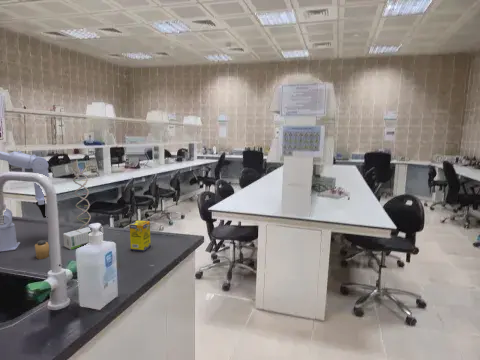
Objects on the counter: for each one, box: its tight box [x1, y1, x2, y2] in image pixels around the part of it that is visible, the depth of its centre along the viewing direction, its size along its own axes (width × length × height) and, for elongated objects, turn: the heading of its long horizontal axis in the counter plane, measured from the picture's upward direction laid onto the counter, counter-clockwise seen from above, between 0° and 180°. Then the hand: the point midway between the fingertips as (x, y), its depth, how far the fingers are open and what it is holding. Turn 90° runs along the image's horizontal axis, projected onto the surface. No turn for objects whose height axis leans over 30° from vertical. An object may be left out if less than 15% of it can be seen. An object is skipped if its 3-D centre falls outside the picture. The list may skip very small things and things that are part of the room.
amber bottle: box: [34, 239, 50, 260], centre depth 118 cm, size 4×4×6 cm
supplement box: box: [129, 219, 152, 253], centre depth 126 cm, size 6×6×11 cm
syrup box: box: [62, 226, 104, 250], centre depth 131 cm, size 6×6×14 cm
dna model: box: [72, 167, 92, 230], centre depth 144 cm, size 7×6×30 cm
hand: (46, 217), depth 133 cm, fingers closed
